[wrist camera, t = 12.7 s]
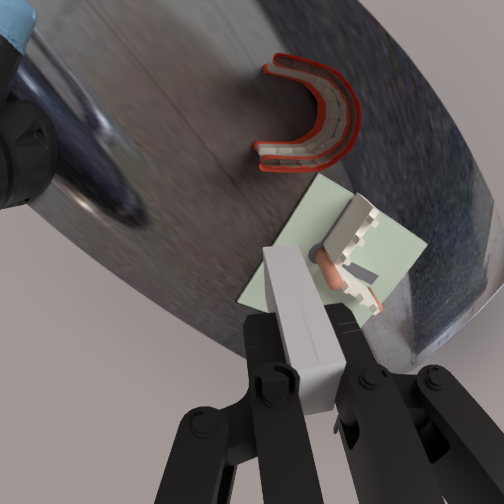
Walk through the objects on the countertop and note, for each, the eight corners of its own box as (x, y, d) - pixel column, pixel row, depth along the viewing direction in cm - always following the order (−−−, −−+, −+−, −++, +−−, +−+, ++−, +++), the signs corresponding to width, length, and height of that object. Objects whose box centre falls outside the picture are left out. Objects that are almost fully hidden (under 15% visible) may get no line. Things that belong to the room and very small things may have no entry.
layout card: (236, 300, 48) (237, 302, 48) (317, 172, 39) (318, 173, 38) (349, 337, 56) (350, 339, 55) (426, 243, 46) (427, 244, 46)
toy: (329, 164, 38) (353, 183, 32) (251, 155, 37) (258, 172, 30) (345, 73, 32) (373, 72, 25) (263, 57, 31) (274, 50, 24)
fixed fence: (310, 255, 45) (325, 287, 38) (353, 190, 40) (379, 213, 34) (320, 259, 46) (337, 292, 39) (364, 196, 41) (390, 220, 34)
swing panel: (323, 264, 45) (336, 289, 40) (331, 255, 45) (345, 280, 39) (365, 297, 50) (379, 322, 44) (373, 290, 49) (388, 314, 44)
